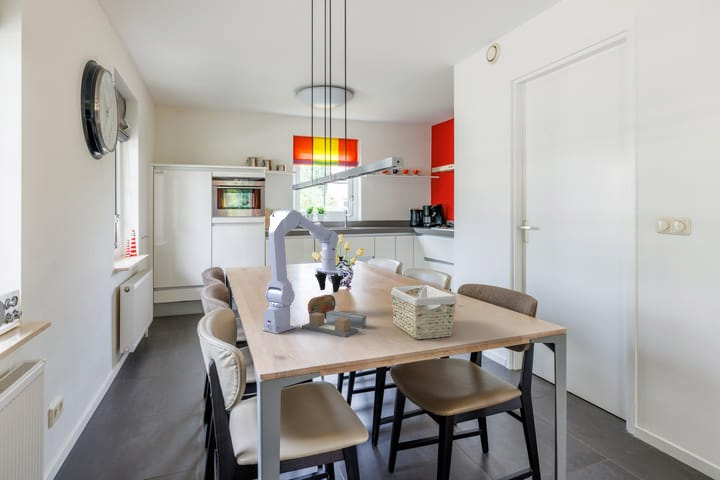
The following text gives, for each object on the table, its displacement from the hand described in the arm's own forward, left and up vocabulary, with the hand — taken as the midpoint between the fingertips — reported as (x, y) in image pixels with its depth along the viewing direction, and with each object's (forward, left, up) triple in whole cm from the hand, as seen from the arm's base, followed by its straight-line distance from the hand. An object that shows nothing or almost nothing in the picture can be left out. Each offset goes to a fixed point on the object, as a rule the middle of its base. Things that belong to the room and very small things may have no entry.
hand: (329, 291), depth 168 cm
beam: (-9, -16, -10) cm, 21 cm away
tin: (-3, +1, -10) cm, 11 cm away
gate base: (-18, -15, -10) cm, 25 cm away
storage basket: (+1, -42, -10) cm, 44 cm away
